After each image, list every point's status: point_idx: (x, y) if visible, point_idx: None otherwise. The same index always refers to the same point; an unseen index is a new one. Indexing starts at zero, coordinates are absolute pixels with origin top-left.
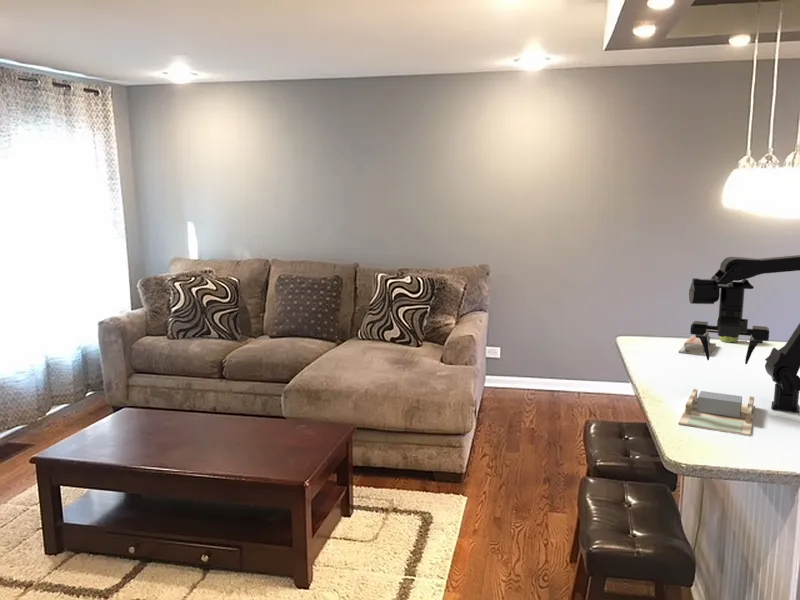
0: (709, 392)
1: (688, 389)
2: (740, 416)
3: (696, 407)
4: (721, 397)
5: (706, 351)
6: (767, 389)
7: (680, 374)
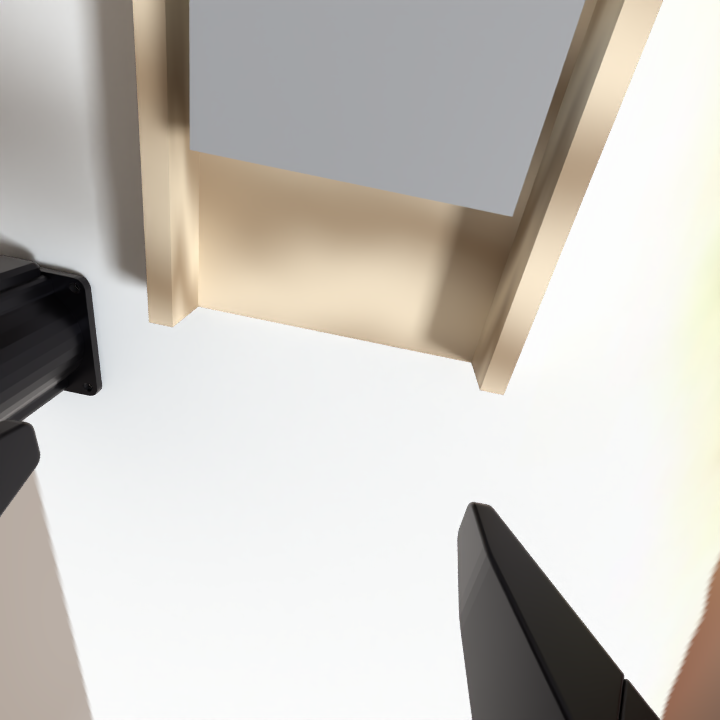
0: (447, 184)
1: None
2: None
3: None
4: (362, 30)
5: (554, 616)
6: (146, 563)
7: None
